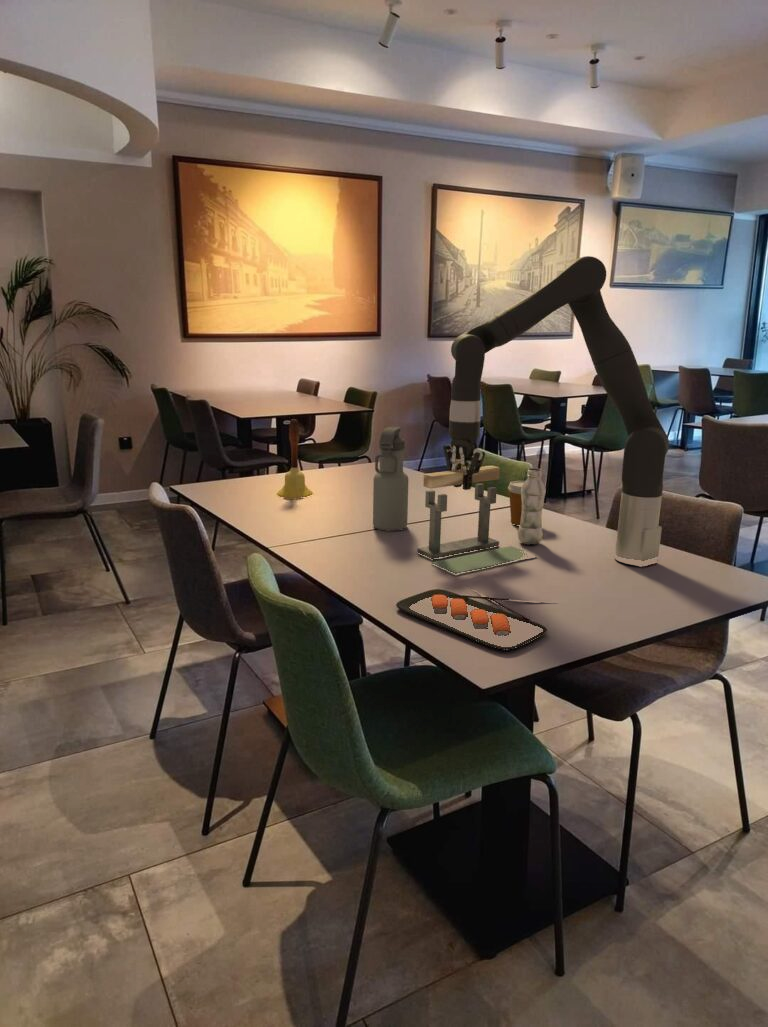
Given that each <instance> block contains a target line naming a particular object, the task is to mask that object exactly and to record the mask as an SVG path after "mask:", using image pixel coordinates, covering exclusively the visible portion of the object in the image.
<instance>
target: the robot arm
mask: <svg viewBox="0 0 768 1027" xmlns="http://www.w3.org/2000/svg"><path fill="white" fill-rule="evenodd" d="M606 279H607V269H606V266H605V264H604V262H603V261H601V259H599V258H597V257H595V256H591V255H590V256H589V255H587V256H582V257H579V258H576V259H575V260H574V261H572V262H571V263H570V264H569V265H568V267H567V268H566V269H564V270H563V271H562V272H561V273H559V275H557V276H556V277H555V278H553V279H552V280H551V281H550V282H548V283H546V284H545V285H544V286H541V287H540V289H538V290H536V291H534V292H532V293H531V294H529V295H528V296H526V297H524V298H523V299H521V300H519V301H517V302H515V303H514V304H512V305H510V306H509V307H507V308H505V309H504V310H502V311H500V312H498V313H497V314H495V315H493V316H492V317H491V318H489V319H488V320H487V321H485V322H483V323H481V324H479V325H477V326H475V327H473V328H471V329H470V330H467V331H465V332H463V333H462V334H460V335H458V336H457V337H456V338H455V339H454V340H453V342H452V343H451V347H450V353H451V356H452V358H453V359H454V360H455V366H454V368H455V369H454V377H453V379H452V381H451V392H450V393H451V396H450V398H451V399H450V405H449V418H448V419H449V422H448V423H449V424H448V437H449V438H450V439H451V440H450V443H449V444H446V445H443V447H442V448H443V453H444V458H445V462H446V467H447V469H451V471H453V470H460V469H463V473H464V475H463V484H460V485H453V487H454V488H460V487H462V489H463V490H464V491H467V490H471V489H472V486H473V483H472V475H473V474H475V473H478V472H479V470H480V467H482V464H483V461H484V459H485V456H486V452H485V451H480V450H479V449H478V446H479V445H478V443H477V441H478V439H479V438H480V434H481V433H480V432H481V417H482V416H481V414H482V409H481V408H482V406H481V391H482V390H481V389H482V387H481V386H482V385H481V384H482V376H483V371H484V366H485V356H486V353H488V352H490V351H492V350H493V349H495V348H498V347H499V348H500V347H503V346H504V345H506V344H508V343H509V342H512V341H513V340H514V339H516V338H518V337H520V336H521V335H523V334H524V333H526V332H528V331H529V330H530V329H532V328H534V326H536V325H538V324H539V323H540V322H542V321H543V320H544V319H545V318H547V317H548V316H549V315H551V314H552V313H554V312H555V311H557V310H558V309H560V308H562V307H564V306H566V305H568V306H569V308H570V310H571V311H572V313H573V315H574V318H575V319H576V321H577V323H578V325H579V328H580V331H581V334H582V337H583V340H584V342H585V345H586V347H587V351H588V353H589V355H590V359H591V362H592V364H593V367H594V370H595V372H596V375H597V377H598V380H599V382H600V383H601V386H602V388H603V390H604V391H605V393H606V394H607V396H608V397H609V399H610V400H611V401H612V403H613V405H614V406H615V407H616V409H617V411H618V413H619V415H620V417H621V419H622V421H623V424H624V428H625V431H626V435H627V439H626V441H625V444H624V449H623V458H622V470H621V471H622V472H621V484H622V487H621V495H620V496H621V497H620V503H619V504H620V505H619V512H618V513H619V514H618V522H617V523H618V524H617V525H618V526H617V533H616V541H615V542H616V543H615V553H614V555H615V554H616V555H617V556H618V557H621V558H626V559H634V560H641V561H645V560H648V559H652V558H655V557H658V558H659V556H660V555H659V554H660V546H661V545H660V544H661V538H662V529H663V527H662V526H660V525H659V522H660V512H661V506H662V499H663V498H662V497H663V492H664V491H663V490H664V480H663V479H664V478H663V477H664V470H665V460H666V456H667V453H668V451H669V449H670V448H669V447H670V440H669V436H668V434H667V432H666V430H665V429H664V427H663V425H662V424H661V422H660V420H659V418H658V416H657V414H656V412H655V410H654V408H653V406H652V404H651V401H650V399H649V395H648V393H647V389H646V386H645V382H644V379H643V376H642V374H641V370H640V367H639V365H638V362H637V359H636V357H635V354H634V352H633V349H632V347H631V345H630V342H629V340H627V338H626V336H625V335H624V333H623V332H622V330H621V329H620V328H619V326H617V324H616V323H615V322H614V320H613V319H612V318H611V316H610V314H609V313H608V312H609V311H608V310H607V307H606V304H605V302H604V299H603V295H602V292H601V291H602V289H603V287H604V286H605V283H606V281H607V280H606ZM468 468H469V470H468Z"/></svg>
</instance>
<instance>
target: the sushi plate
mask: <svg viewBox="0 0 768 1027" xmlns="http://www.w3.org/2000/svg"><path fill="white" fill-rule="evenodd" d="M429 597H432V598H431V601H432V606H433V609H434V613H435V614H446V613H447V606H448V600H447V598H448V597H449V598H453V599H452V600H451V601H450V607H451V616H452V617H453V619H455V620H465V619H466V617H468V612H467V606H466V604H468V605H471V606H474V607H477V608H479V609H474V610H472V611H471V612H470V615H471V619H472V622H473V626H474V628H475V629H488V628H487V627H488V622H489V618H488V615H487V612H486V611H488V612H493V613H496V614H492V615H491V616H490V619H491V624H492V627H493V632H494V634H495V635H498V636H501V635H502V636H503V635H504V636H507V635H509V633H511V631H510V625H509V621H508V619H507V617H511V618H513V619H517V620H519V621H523V622H526V623H530V624H532V625H534V626H538V627H540V628H542V629H543V632H541V633H539V634H538V635H536V636H534V637H532V638H530V639H528V640H526V641H524V642H522V643H520V644H517V645H516V646H512V647H501V646H497V645H494V644H490V643H488V642H485V641H483V640H480V639H478V638H475V637H473V636H471V635H469V634H466V633H464V632H461V631H459V630H457V629H455V628H453V627H450V626H448V625H446V624H444V623H441V622H439V621H436V620H434V619H431V618H429V617H427V616H424V615H422V614H419V613H417V612H415V611H413V610H411V609H410V608H409V607H410V606H411V605H412V604H415V603H417V602H418V601H420V600H423V599H425V598H429ZM476 599H481V600H487V599H490V600H493V601H495V602H496V603H498V604H499V605H500V607H501V606H502V607H501V608H503V607H504V609H505V608H506V609H505V610H504V609H500V608H497V607H495V606H491V605H488V604H487V603H483V602H481V601H478V600H476ZM509 599H510V598H503V597H502V598H501V597H491V596H490V597H489V596H488V597H481V596H476V595H465V594H464V595H463V594H462V595H461V594H458V593H455V592H453V591H449V590H446V589H440V588H437V589H435V588H434V589H430V590H427V591H423V592H420V593H417V594H415V595H411V596H408V597H406V598H403V599H400V600H399V601H397V602H396V604H395V606H396V608H397V609H398V610H401V611H402V612H405V613H407V614H409V615H412V616H413V617H416V618H419V619H420V620H423V621H426V622H428V623H431V624H433V625H436V626H438V627H440V628H443V629H446V630H448V631H449V632H452V631H453V633H455V632H456V633H455V634H457V633H458V635H460V634H461V635H460V636H462V635H463V636H462V637H464V636H466V637H465V638H467V637H468V638H467V639H469V638H471V639H470V640H472V639H474V640H477V641H479V642H481V643H480V644H482V643H484V644H487V645H489V646H492V647H496V648H499V649H505V650H506V649H512V648H515V647H519V646H521V645H523V644H525V643H527V642H529V641H531V640H533V639H535V638H537V637H539V636H541V635H543V634H544V633H545V632H546V631H547V630H548V629H547V627H546V626H544V625H543V624H541V623H538V622H535V621H532V620H531V619H530V618H528V617H527V616H524V615H523V614H521V613H519V612H517V611H515V610H514V609H511V608H510V607H507V606H506V605H504V604H502V603H500V602H498V601H502V600H509ZM499 605H498V606H499ZM506 610H507V611H506ZM497 613H498V614H497ZM513 613H514V614H513ZM506 616H507V617H506ZM547 632H548V631H547ZM547 632H546V633H547ZM546 633H545V634H546ZM545 634H544V635H545ZM544 635H543V636H544ZM541 637H542V636H541ZM539 638H540V637H539ZM474 640H473V641H474ZM477 641H476V642H477ZM479 642H478V643H479ZM484 644H483V645H484ZM487 645H486V646H487ZM525 645H526V644H525ZM489 646H488V647H489ZM523 646H524V645H523ZM492 647H491V648H492ZM521 647H522V646H521ZM519 648H520V647H519ZM499 649H498V650H499ZM505 650H504V651H505ZM506 651H507V650H506Z"/></svg>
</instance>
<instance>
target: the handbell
mask: <svg viewBox="0 0 768 1027" xmlns="http://www.w3.org/2000/svg"><path fill="white" fill-rule="evenodd" d="M288 440H289V443H290V452H291V453H290V454H291V455H290V456H291V457H290V459H291V462H290V463H291V464H290V465H291V468H290V470H289V471H287V472H286V473H285V475H284V485H283V486H282V488H281V489H279V490H278V491H277V492H276V496H277V495H278V496H280V497H279V498H281V497H285V498H284V499H289V498H300V499H302V498H301V497H307V496H310V495H312V494H313V495H314V492H313V491H312V490H311V489H309V487H307V485H306V480H305V479H306V477H305V474H304V472H303V471H300V469H299V464H298V463H299V456H298V454H299V453H298V450H299V449H298V447H299V441H300V426H299V421H298V420H297V419H294V418H293V419H290V422H289V427H288ZM278 496H277V497H278ZM307 498H308V497H307Z"/></svg>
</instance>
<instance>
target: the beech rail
mask: <svg viewBox="0 0 768 1027" xmlns="http://www.w3.org/2000/svg"><path fill="white" fill-rule="evenodd" d="M468 470H469V467H468ZM500 474H501V467H500V466H495V465H485V466H481V467H480V470H479V472H478V473H475V474H473V475H472V484H474V483H480V482H481V483H482V482H488V481H495V480H500ZM463 475H464V473H463V468H462V469H460V470H453V471H452V470H447V471H446V470H445V471H439V472H432V473H431V472H430V473H429V472H428V473H423V486H422V487H424V488H428V489H430V490H431V489H432V490H433V489H437V488H445V487H451V486H453V485H460V484H462V485H463ZM453 487H454V486H453Z"/></svg>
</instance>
